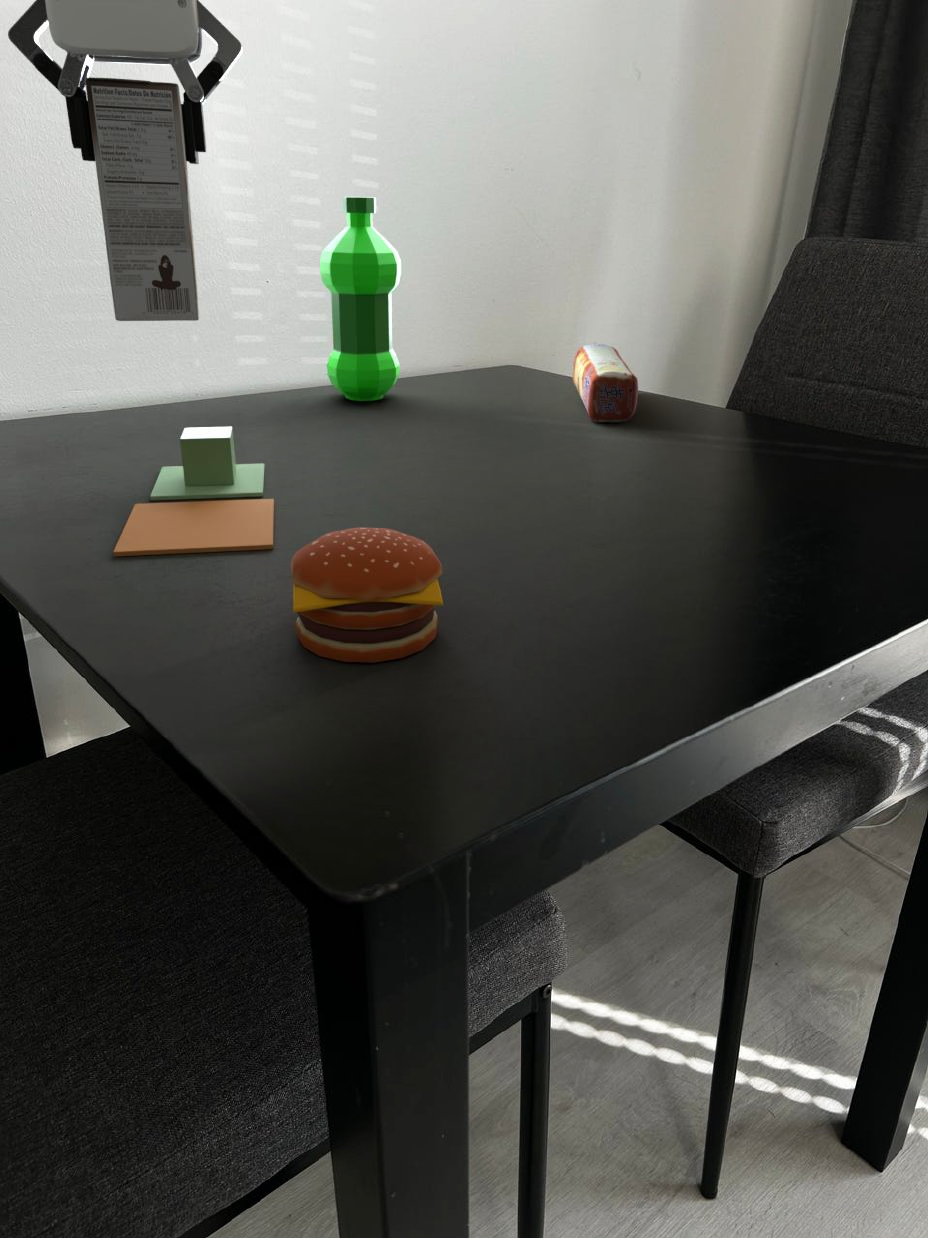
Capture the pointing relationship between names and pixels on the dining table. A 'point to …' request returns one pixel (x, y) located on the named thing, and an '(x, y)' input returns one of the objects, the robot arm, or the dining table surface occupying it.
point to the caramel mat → (197, 527)
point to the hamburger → (366, 595)
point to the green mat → (174, 488)
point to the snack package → (605, 383)
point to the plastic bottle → (361, 304)
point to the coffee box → (144, 198)
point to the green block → (208, 456)
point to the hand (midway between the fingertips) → (142, 159)
